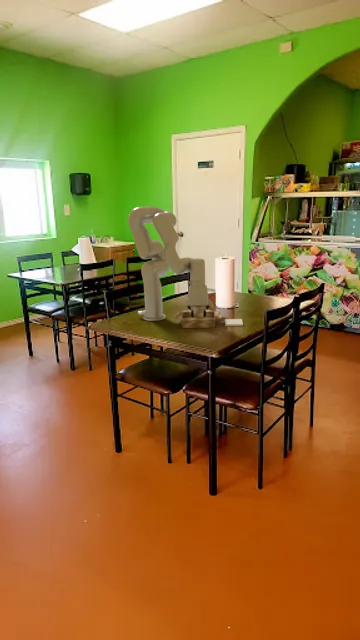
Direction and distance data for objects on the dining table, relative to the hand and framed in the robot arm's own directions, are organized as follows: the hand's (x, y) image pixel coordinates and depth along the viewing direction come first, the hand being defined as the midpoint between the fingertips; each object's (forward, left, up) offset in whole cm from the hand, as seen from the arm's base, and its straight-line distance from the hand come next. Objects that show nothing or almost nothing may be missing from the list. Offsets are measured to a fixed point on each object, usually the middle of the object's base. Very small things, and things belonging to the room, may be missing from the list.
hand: (198, 317), depth 226 cm
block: (0, 0, -4) cm, 4 cm away
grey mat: (+18, 0, -3) cm, 18 cm away
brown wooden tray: (0, 0, -3) cm, 3 cm away
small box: (+4, +18, -4) cm, 19 cm away
